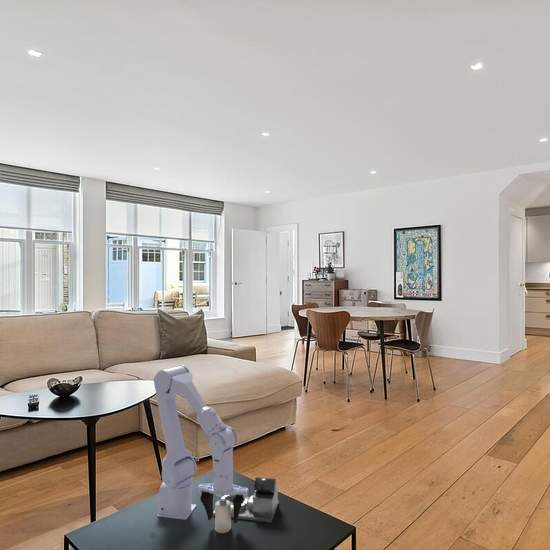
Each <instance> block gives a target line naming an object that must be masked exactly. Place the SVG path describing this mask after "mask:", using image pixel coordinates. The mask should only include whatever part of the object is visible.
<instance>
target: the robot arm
mask: <svg viewBox="0 0 550 550" xmlns="http://www.w3.org/2000/svg"><path fill="white" fill-rule="evenodd" d="M153 384H154V388H155V396H156V397H155V398H156V403H157V408H158V414H159V418H160V423H161V429H162V433H163V440H164V444H165V448H166V449H165V450H166V454H165V456H164V457H163V459H162V461H161V479H162V482H161V484H160V486H159V489H158V513H157V517H161V518H169V519H177V520H185V521H186V520H188V518H189V517H190V515H191V514H192V513H193V512H194V510H195V508H197V504H195V503H194V504H193V503H192V481H193V480H194V476H195V475H196V473H197V468H198V465H197V462H196V461H195V458H194V456H193V451H191V450H189V449H187V448H186V447H185V442H184V436H183V432H182V427H181V423H180V418H179V412H178V407H177V403H176V396H177V395H181V396H182V397H183V398H184V399H185V400H186V402H187V403H188V404H189V405H190V407H191V408H192V409H193V410H194V412H195V413H196V422H197V423H198V424H199V425H200V427H201V428H202V429H201V430H203V432H204V434H205V435H206V436H207V438H208V440H207V444H208V447H209V449H210V451H211V453H210V454H211V457H212V483H200V484H199V485H198V486H197V494H201V495H200V497H199V498H200V500H199V501H200V502H201V503H202V505H203V507H204V509H205V512H206V516H207V520H208V521H211V520H212V518H213V517H214V516H213V512H214V495H215V497H217V498H222V497H223V496H224V495H231V496H235V498H234V499H233V508H234V518H233V524H237V523H238V521H239V519H238V517H239V512H240V508H241V505H242V502H243V500H244V498H247V497H249V488H248V487H243V486H240V485H237V484H234V446H235V445H236V444H237V441H238V437H237V433H236V432H235V429H234V428H233V427H231V426H228V425H227V424H226V423H224V422H223V419H221V418H220V416H219V415H218V413H217V411H216V409H214V407H211V406H207V404H206V403H205V401H204V400H203V397H202V395H201V394H200V392H199V391H198V389H197V388H196V385H195V384H194V383H193V374H192V373H191V372H190V370H189V368H188V367H187V366H186V365H184V364H181V365H178V366H175V367H171V368H166V369H159V371H157V372H156V374H155V376H154V378H153Z"/></svg>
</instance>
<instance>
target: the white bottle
mask: <svg viewBox="0 0 550 550" xmlns="http://www.w3.org/2000/svg"><path fill="white" fill-rule="evenodd" d="M214 510H215V516H214V530H215V532H216V533H217V534H226V533H228V532H230V531H231V528H232V518H231V502H230V501H228V500H226V499H221V498H220V499H218V500H217V501H216V502H215V504H214Z"/></svg>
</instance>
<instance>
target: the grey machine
mask: <svg viewBox="0 0 550 550" xmlns="http://www.w3.org/2000/svg"><path fill="white" fill-rule="evenodd" d="M253 487H254V494H253V495H251V496H248V497H247V498H244V500H243V502H242V505H241V508H240V512H239V517H238V520H245V521H247V520H248V521H252V522H253V521H256V522H262V523H272V522H273V519H274V517H275V514H276V512H277V508H278V505H279V503H280V502H279V501H280V500H279V499H278V497H279V495H278V493H279V492H278V488H279V487H278V486H277V479H276V478H270V477H269V478H267V477H259V476H256V477H255V480H254V484H253ZM234 498H235V496H231V495H223V496H222V497H220V499H226V500H228V501H230V502H231V519H234V508H233V499H234ZM213 517H215V509H213Z"/></svg>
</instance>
